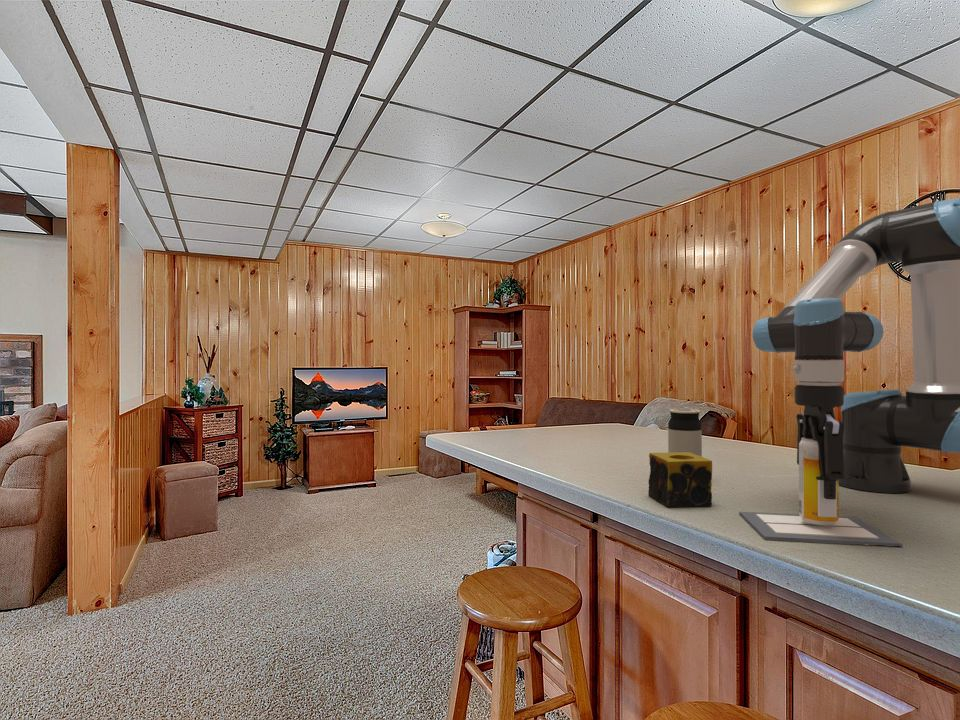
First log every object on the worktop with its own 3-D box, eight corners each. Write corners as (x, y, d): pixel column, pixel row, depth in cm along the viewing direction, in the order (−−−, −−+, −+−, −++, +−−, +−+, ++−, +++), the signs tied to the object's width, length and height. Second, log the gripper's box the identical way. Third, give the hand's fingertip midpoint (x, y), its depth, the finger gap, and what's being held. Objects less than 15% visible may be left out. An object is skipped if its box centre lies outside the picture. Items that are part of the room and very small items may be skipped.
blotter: (856, 519, 103) (856, 515, 103) (902, 547, 88) (902, 542, 88) (739, 514, 107) (739, 510, 107) (764, 539, 92) (764, 535, 92)
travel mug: (667, 482, 134) (667, 410, 134) (669, 475, 142) (668, 408, 142) (701, 484, 131) (701, 411, 131) (701, 478, 139) (701, 409, 139)
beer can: (845, 527, 93) (844, 441, 93) (806, 525, 95) (806, 441, 95) (829, 517, 99) (829, 436, 99) (793, 515, 101) (793, 436, 100)
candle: (647, 496, 121) (647, 452, 121) (690, 495, 122) (689, 451, 122) (666, 509, 111) (666, 461, 111) (713, 507, 112) (713, 460, 112)
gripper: (777, 381, 107) (777, 497, 107) (818, 386, 88) (819, 526, 88) (818, 381, 105) (818, 498, 106) (869, 386, 87) (869, 528, 87)
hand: (819, 510), depth 97 cm, fingers closed on beer can, 6 cm apart
